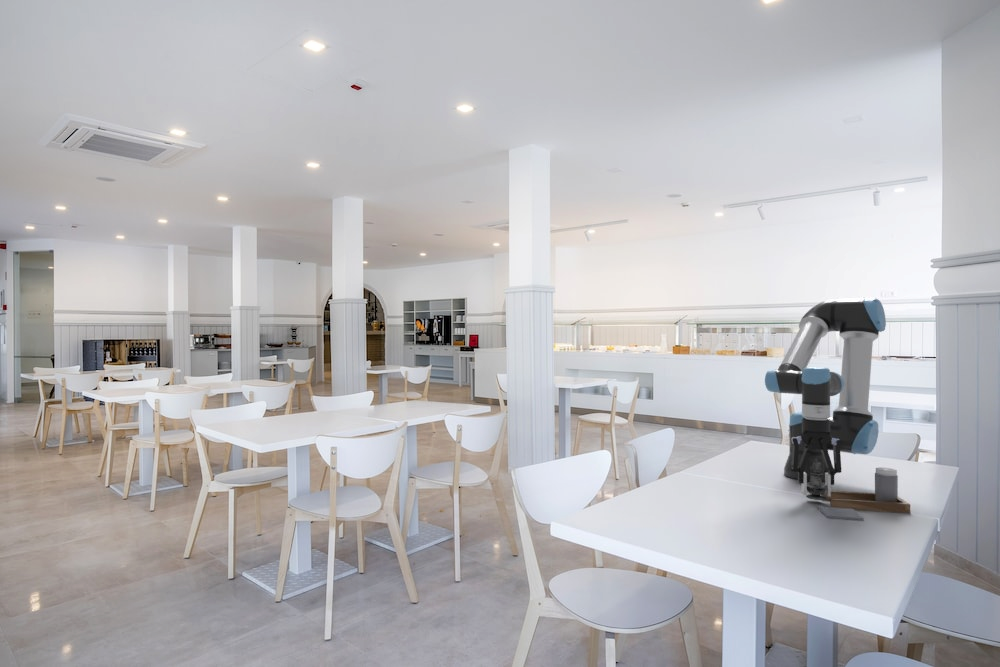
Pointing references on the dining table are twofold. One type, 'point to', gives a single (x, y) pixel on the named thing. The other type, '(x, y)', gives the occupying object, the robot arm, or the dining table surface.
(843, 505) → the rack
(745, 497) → the dining table surface
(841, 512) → the coaster
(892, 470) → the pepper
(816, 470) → the grey chess piece
